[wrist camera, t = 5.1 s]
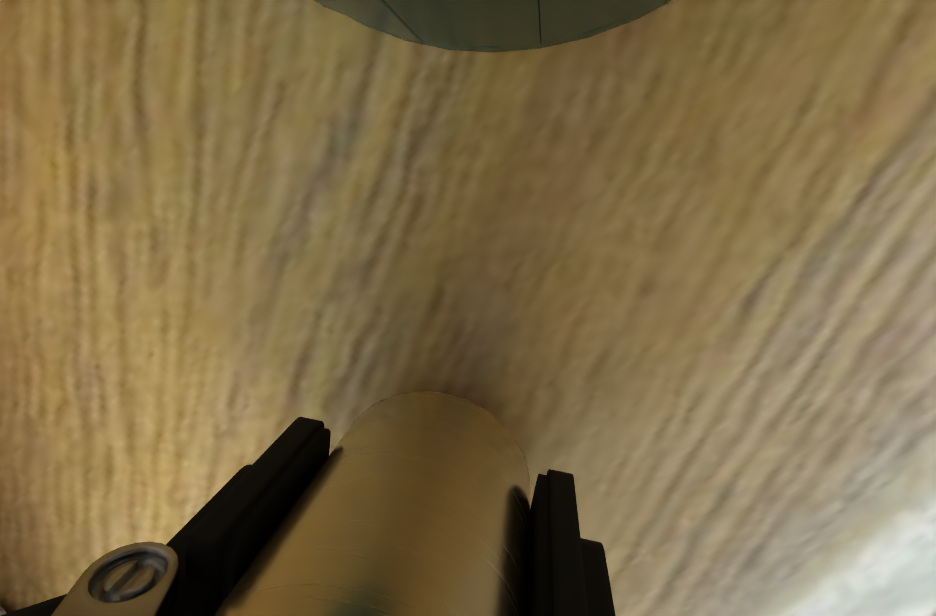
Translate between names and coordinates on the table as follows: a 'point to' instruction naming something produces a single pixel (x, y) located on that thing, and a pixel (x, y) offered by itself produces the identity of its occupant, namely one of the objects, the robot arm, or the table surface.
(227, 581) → the robot arm
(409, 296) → the table surface
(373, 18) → the canister
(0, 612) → the medicine box
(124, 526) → the table surface
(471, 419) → the tea tin
